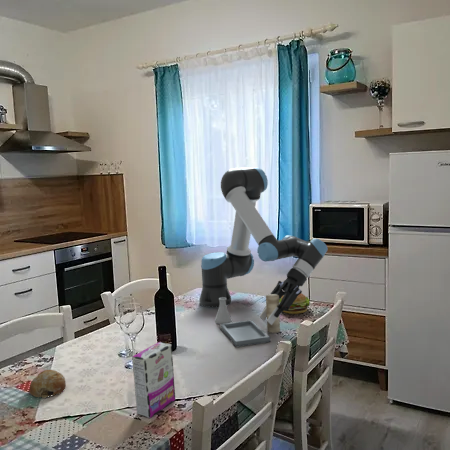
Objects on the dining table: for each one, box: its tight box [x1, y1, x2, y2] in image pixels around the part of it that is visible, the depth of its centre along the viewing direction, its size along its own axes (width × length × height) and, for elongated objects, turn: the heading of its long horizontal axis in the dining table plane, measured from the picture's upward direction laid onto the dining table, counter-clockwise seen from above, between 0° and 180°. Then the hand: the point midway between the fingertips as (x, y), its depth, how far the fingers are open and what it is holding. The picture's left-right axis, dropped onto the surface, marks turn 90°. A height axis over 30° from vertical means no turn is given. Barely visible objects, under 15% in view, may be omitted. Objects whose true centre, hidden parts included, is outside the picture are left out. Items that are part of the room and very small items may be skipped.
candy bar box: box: [131, 341, 176, 419], centre depth 127 cm, size 11×5×16 cm, turn 148°
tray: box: [220, 319, 271, 348], centre depth 179 cm, size 20×13×2 cm, turn 17°
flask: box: [214, 298, 233, 325], centre depth 195 cm, size 7×7×10 cm
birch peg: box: [265, 293, 281, 334], centre depth 181 cm, size 5×5×14 cm
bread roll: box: [29, 369, 67, 399], centre depth 139 cm, size 10×10×8 cm
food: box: [279, 292, 310, 315], centre depth 206 cm, size 14×14×8 cm
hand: (265, 320), depth 180 cm, fingers closed on birch peg, 5 cm apart
